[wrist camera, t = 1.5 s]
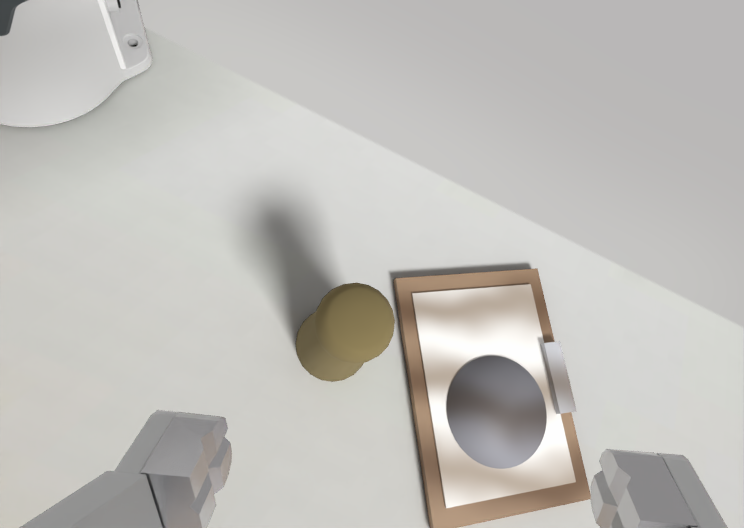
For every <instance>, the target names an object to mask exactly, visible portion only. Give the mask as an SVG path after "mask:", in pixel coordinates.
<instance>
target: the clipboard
mask: <svg viewBox="0 0 744 528" xmlns="http://www.w3.org/2000/svg"><path fill="white" fill-rule="evenodd" d="M394 288H395V295H396V301H397V308H398V315H399V322H400V328H401V335H402V342H403V348H404V355H405V362H406V369H407V375H408V382H409V389H410V396H411V402H412V409H413V416H414V422H415V429H416V436H417V443H418V449H419V456H420V463H421V469H422V476H423V483H424V490H425V496H426V503H427V510H428V516H429V523H430V528H458V527H462V526H467V525H472V524H476V523H481V522H486V521H490V520H495V519H500V518H504V517H509V516H514V515H518V514H523V513H528V512H532V511H537V510H542V509H546V508H551V507H556V506H560V505H565V504H570V503H574V502H579V501H584V500H588V499H591V495H590V490H589V486H588V482H587V478H586V473H585V469H584V465H583V461H582V456H581V452H580V448H579V444H578V439H577V435H576V431H575V427H574V422H573V418H572V414H571V412H575V411H576V407H575V402H574V398H573V394H572V390H571V386H570V381H569V377H568V373H567V369H566V365H565V360H564V356H563V352H562V348H561V344H560V341H557V342H554V337H553V333H552V329H551V325H550V320H549V316H548V312H547V308H546V303H545V299H544V295H543V291H542V286H541V282H540V278H539V274H538V269H524V270H509V271H495V272H480V273H465V274H451V275H436V276H422V277H407V278H396V279H395V280H394Z"/></svg>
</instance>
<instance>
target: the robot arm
mask: <svg viewBox="0 0 744 528" xmlns="http://www.w3.org/2000/svg"><path fill="white" fill-rule="evenodd" d="M132 45H137V46H136V47H131V46H132ZM151 64H152V55H151V51H150V47H149V43H148V39H147V35H146V31H145V27H144V24H143V20H142V16H141V12H140V8H139V4H138V0H0V124H2V125H8V126H16V127H40V126H49V125H54V124H59V123H63V122H66V121H69V120H72V119H75V118H77V117H79V116H82V115H84V114H86V113H87V112H89V111H91V110H92V109H94V108H95V107H97V106H98V105H100V104H101V103H102V102H103V101H104V100H105V99H106V98H107V97H108V96H109V95H110V94H111V93H112V92H113V91H114V90H115V89H116V88H117V87H118V86H119V85H120V84H121V83H122V82H123V81H124V80H127V79H129V78H131V77H133V76H136V75H138V74H140V73H142V72H143V71H145V70H147V69H148V68H149V67H150V66H151ZM227 429H228V427H227V423H226V418H224V417H220V416H211V415H202V414H193V413H184V412H173V411H163V410H157V411H156V412H154V413H153V414H152V415H151V416H150V417H149V419H148V420H147V422H146V423H145V425H144V426H143V428H142V429H141V431H140V433H139V434H138V436H137V437H136V439H135V440H134V442H133V443H132V445H131V446H130V448H129V449H128V451H127V452H126V454H125V455H124V457H123V458H122V460H121V461H120V463H119V465H118V466H117V468H116V469H115V471H106V472H105V473H103V474H102V475H100V476H99V477H97V478H95V479H94V480H92V481H91V482H89V483H88V484H86V485H85V486H83V487H82V488H80V489H78V490H77V491H75V492H74V493H72V494H71V495H69V496H68V497H66V498H65V499H63V500H61V501H60V502H58V503H57V504H55V505H54V506H52V507H51V508H49V509H48V510H46V511H44V512H43V513H41V514H40V515H38V516H37V517H35V518H34V519H32V520H31V521H29V522H27V523H26V524H24V525H23V526H21V527H20V528H207V526H208V524H209V522H210V519H211V517H212V514H213V512H214V509H215V507H216V502H215V497H214V494H215V493H217V492H218V491H219V490H220V489H222V488H223V487H224V485H225V482H226V480H227V477H228V475H229V470H230V465H231V458H232V450H231V444H230V442H229V441H228V440H227V439H226V438H225V437H224V436H225V434H226V432H227ZM599 462H600V465H601V467H602V471H600V472H599V473H597V474H596V475H594V478H593V481H592V484H591V505H592V511H593V514H594V517H595V521H596V523H597V524H598V525H599V526H600V527H601V528H728V527H727V526H726V524H725V522H724V521H723V519H722V517H721V515H720V514H719V512H718V510H717V508H716V507H715V505H714V503H713V501H712V500H711V498H710V496H709V495H708V493H707V491H706V489H705V488H704V486H703V484H702V482H701V481H700V479H699V477H698V475H697V474H696V472H695V470H694V469H693V467H692V465H691V463H690V462H689V460H688V459H687V458H686V457H685V456H683V455H674V454H662V453H653V452H639V451H626V450H612V449H606V450H605V451H604V452H603V453H602V455H601V458H600V460H599Z"/></svg>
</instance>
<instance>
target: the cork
mask: <svg viewBox="0 0 744 528" xmlns="http://www.w3.org/2000/svg"><path fill="white" fill-rule="evenodd" d="M394 324H395V320H394V315H393V310H392V308H391V306H390V304H389V302H388V300H387V299H386V298H385V297H384V296H383V295H382V294H381V293H380V292H379V291H378V290H376V289H375V288H373V287H371V286H369V285H365V284H360V283H351V284H343V285H341V286H339V287H336V288H334V289H332V290H331V291H330V292H329V293H328V294H327V295H326V296H325V297H323V299H322V301H321V303H320V305H319V306H318V308H317V310H316V312H315V313H313V314H311V315H310V316H309V317H308V318H307V319H306V320H305V321H304V322H303V323H302V325H301V327H300V329H299V331H298V334H297V339H296V350H297V356H298V358H299V360H300V362H301V364H302V366H303V367H304V368H305V369H306V370H307V371H308V372H309V373H310V374H311V375H313V376H315V377H317V378H319V379H320V380H325V381H332V382H333V381H339V380H344V379H346V378H348V377H350V376H352V375H354V374H355V373H356V372H357V371H358V370H359V369H360V368H361V366H362V365H363V363H364V362H367V361H369V360H371V359H373V358H375V357H377V356H379V355H380V354H381V353H382V352H383V351H384V350H385V349H386V348H387V347H388V345H389V343H390V341H391V338H392V336H393V332H394Z"/></svg>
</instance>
